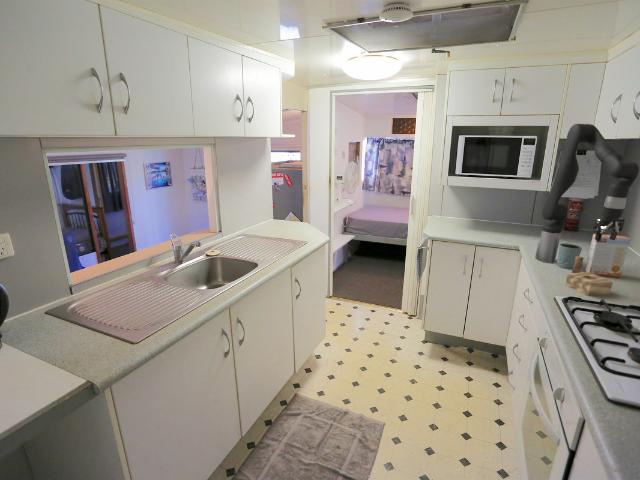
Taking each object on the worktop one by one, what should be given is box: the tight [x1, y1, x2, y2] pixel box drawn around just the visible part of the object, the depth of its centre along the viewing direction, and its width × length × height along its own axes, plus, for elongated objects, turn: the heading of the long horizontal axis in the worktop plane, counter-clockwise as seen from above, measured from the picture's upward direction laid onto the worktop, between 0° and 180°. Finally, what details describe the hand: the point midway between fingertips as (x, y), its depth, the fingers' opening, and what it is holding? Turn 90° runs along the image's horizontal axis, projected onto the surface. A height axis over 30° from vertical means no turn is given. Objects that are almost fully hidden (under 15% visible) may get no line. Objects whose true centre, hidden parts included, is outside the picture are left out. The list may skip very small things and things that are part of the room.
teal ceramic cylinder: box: [556, 243, 583, 271], centre depth 196 cm, size 10×10×12 cm
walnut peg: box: [571, 255, 584, 273], centre depth 180 cm, size 3×3×11 cm
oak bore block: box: [564, 271, 614, 297], centre depth 167 cm, size 12×12×6 cm
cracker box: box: [584, 233, 631, 279], centre depth 184 cm, size 14×6×21 cm, turn 73°
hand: (604, 240), depth 169 cm, fingers open, 8 cm apart
